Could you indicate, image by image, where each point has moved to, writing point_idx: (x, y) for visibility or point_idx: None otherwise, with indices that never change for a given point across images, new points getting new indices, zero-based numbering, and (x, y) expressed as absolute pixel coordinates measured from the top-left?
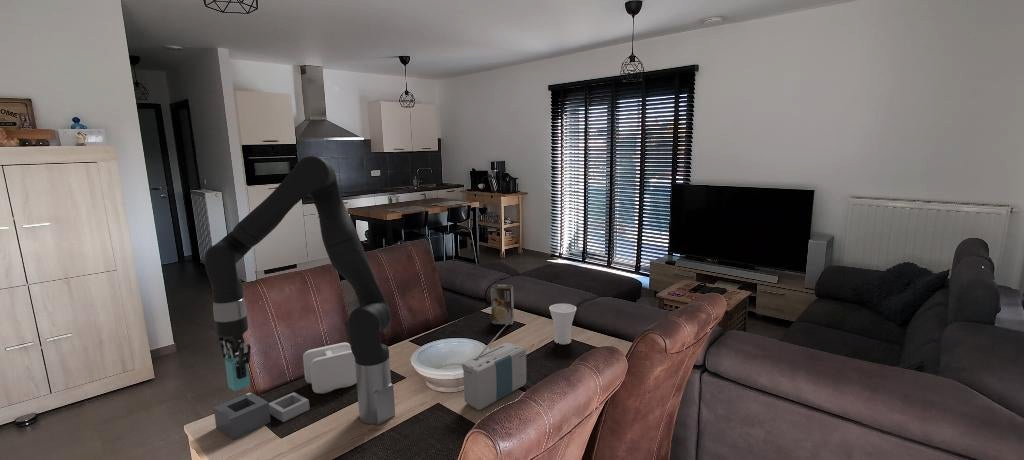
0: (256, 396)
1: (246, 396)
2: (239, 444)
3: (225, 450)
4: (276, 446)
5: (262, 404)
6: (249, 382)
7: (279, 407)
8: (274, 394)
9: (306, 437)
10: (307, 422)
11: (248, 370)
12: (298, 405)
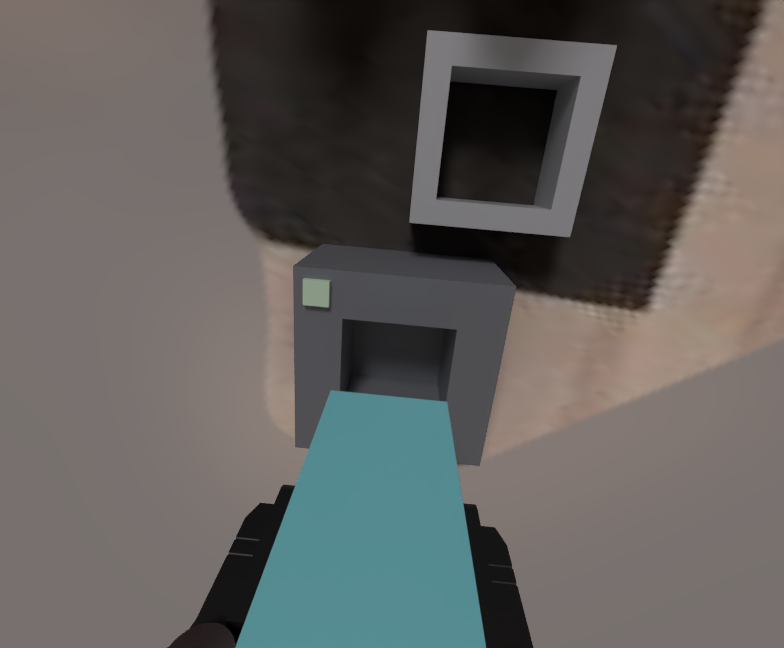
0: (379, 280)
1: (325, 309)
2: (514, 408)
3: (500, 447)
4: (671, 354)
5: (502, 318)
6: (447, 419)
7: (510, 213)
8: (242, 66)
9: (761, 254)
10: (674, 166)
11: (463, 505)
12: (594, 131)
